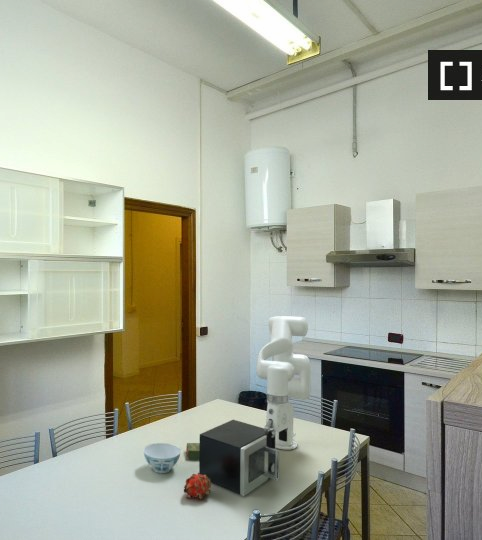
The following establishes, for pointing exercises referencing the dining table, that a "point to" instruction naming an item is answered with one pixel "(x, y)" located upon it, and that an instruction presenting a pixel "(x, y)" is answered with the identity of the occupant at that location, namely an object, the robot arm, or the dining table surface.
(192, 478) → the dragon fruit
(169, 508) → the dining table surface
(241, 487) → the microwave door
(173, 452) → the chinaware
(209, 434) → the microwave
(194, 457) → the carton
